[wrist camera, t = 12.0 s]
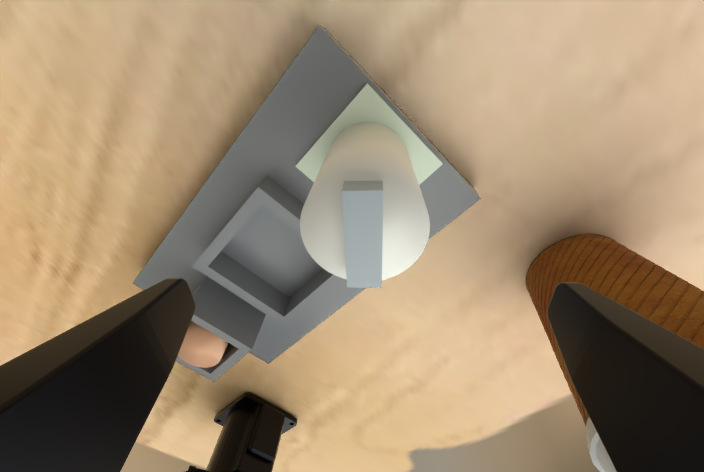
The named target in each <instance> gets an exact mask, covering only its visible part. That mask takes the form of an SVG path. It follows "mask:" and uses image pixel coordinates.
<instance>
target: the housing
mask: <svg viewBox="0 0 704 472" xmlns="http://www.w3.org/2000/svg"><path fill="white" fill-rule="evenodd" d="M363 122H374V123H379V124H382V125H385V126H387V127H389V128H390V129H392V130H393V131H395V132H396V133H397V134H398V135H399V136H400V138H401V139H402V140H403V142H404V144H405V146H406V148H407V151H408V154H409V157H410V160H411V163H412V166H413V169H414V172H415V175H416V178H417V181H418V184H419V187H420V190H421V192H422V195H423V198H424V201H425V204H426V207H427V211H428V214H429V220H430V233H429V238H431V237H432V236H433V235H435V234H436V233H437V232H438V231H440V230H441V229H442V228H444V227H445V226H446V225H447V224H449V223H450V222H451V221H453V220H454V219H455V218H456V217H458V216H459V215H460V214H462V213H463V212H464V211H465V210H467V209H468V208H469V207H471V206H472V205H473V204H474V203H476V202H477V201H478V200H480V199H481V198H480V196H479V195H478V193H477V192H476V191H475V189H474V188H473V187H472V186H471V185H470V184H469V183H468V182H467V180H466V179H465V178H464V177H463V176H462V175H461V174H460V173H459V172H458V171H457V170H456V169H455V168H454V167H453V165H452V164H451V163H450V162H449V161H448V160H447V159H446V158H445V157H444V156H443V155H442V154H441V153H440V151H439V150H438V149H437V148H436V147H435V146H434V145H433V144H432V143H431V142H430V141H429V140H428V139H427V138H426V136H425V135H424V134H423V133H422V132H421V131H420V130H419V129H418V128H417V127H416V126H415V125H414V124H413V123H412V121H411V120H410V119H409V118H408V117H407V116H406V115H405V114H404V113H403V112H402V111H401V110H400V109H399V107H398V106H397V105H396V104H395V103H394V102H393V101H392V100H391V99H390V98H389V97H388V96H387V95H386V94H385V92H384V91H383V90H382V89H381V88H380V87H379V86H378V85H377V84H376V83H375V82H374V81H373V80H372V78H371V77H370V76H369V75H368V74H367V73H366V72H365V71H364V70H363V69H362V68H361V67H360V66H359V65H358V63H357V62H356V61H355V60H354V59H353V58H352V57H351V56H350V55H349V54H348V53H347V52H346V51H345V49H344V48H343V47H342V46H341V45H340V44H339V43H338V42H337V41H336V40H335V39H334V38H333V37H332V36H331V34H330V33H329V32H328V31H327V30H326V29H325V28H324V27H322V26H320V25H319V26H318V28H317V29H316V30H315V32H314V33H313V35H312V36H311V37H310V39H309V40H308V41H307V43H306V44H305V46H304V47H303V48H302V50H301V51H300V52H299V54H298V55H297V57H296V58H295V59H294V61H293V62H292V64H291V65H290V66H289V68H288V69H287V70H286V72H285V73H284V75H283V76H282V77H281V79H280V80H279V81H278V83H277V84H276V86H275V87H274V88H273V90H272V91H271V93H270V94H269V95H268V97H267V98H266V99H265V101H264V102H263V104H262V105H261V106H260V108H259V109H258V111H257V112H256V113H255V115H254V116H253V117H252V119H251V120H250V122H249V123H248V124H247V126H246V127H245V128H244V130H243V131H242V133H241V134H240V135H239V137H238V138H237V140H236V141H235V142H234V144H233V145H232V146H231V148H230V149H229V151H228V152H227V153H226V155H225V156H224V157H223V159H222V160H221V162H220V163H219V164H218V166H217V167H216V169H215V170H214V171H213V173H212V174H211V175H210V177H209V178H208V180H207V181H206V182H205V184H204V185H203V186H202V188H201V189H200V191H199V192H198V193H197V195H196V196H195V198H194V199H193V200H192V202H191V203H190V204H189V206H188V207H187V209H186V210H185V211H184V213H183V214H182V215H181V217H180V218H179V220H178V221H177V222H176V224H175V225H174V227H173V228H172V229H171V231H170V232H169V233H168V235H167V236H166V238H165V239H164V240H163V242H162V243H161V244H160V246H159V247H158V249H157V250H156V251H155V253H154V254H153V256H152V257H151V258H150V260H149V261H148V262H147V264H146V265H145V267H144V268H143V269H142V271H141V272H140V274H139V275H138V276H137V278H136V279H135V280H134V282H133V284H135V285H137V286H138V287H140V288H142V289H143V290H146V289H147V288H149V287H151V286H153V285H155V284H157V283H159V282H161V281H163V280H165V279H167V278H182V279H185V280H186V281H187V283H188V286H189V288H190V291H191V294H192V296H193V299H194V301H195V312H194V315H193V317H192V320H191V321H193V322H194V323H196V324H198V325H199V326H201V327H203V328H204V329H206V330H208V331H209V332H211V333H213V334H215V335H216V336H218V337H220V338H221V339H223V340H225V341H226V342H228V343H229V344H228V346H227V348H226V350H225V352H224V354H223V356H222V358H221V360H220V362H219V363H218V364H217V365H215V366H212V367H207V368H202V367H196V366H193V365H190V364H188V363H186V362H184V361H183V360H181V359H180V358H179V357H178V356H177V359H176V362H178V363H180V364H182V365H184V366H186V367H187V368H189V369H191V370H193V371H195V372H197V373H199V374H200V375H202V376H204V377H206V378H208V379H210V380H212V381H215V380H216V379H217V378H219V377H220V376H221V375H222V374H223V373H225V372H226V371H227V370H228V369H229V368H231V367H232V366H233V365H234V364H235V363H236V362H238V361H239V360H240V359H241V358H242V357H244V356H245V355H246V354H247V353H248V352H250V353H251V354H253V355H255V356H256V357H258V358H260V359H261V360H263V361H265V362H266V363H268V364H269V363H270V362H271V361H273V360H274V359H275V358H276V357H278V356H279V355H280V354H282V353H283V352H284V351H285V350H287V349H288V348H289V347H291V346H292V345H293V344H294V343H296V342H297V341H298V340H300V339H301V338H302V337H303V336H305V335H306V334H307V333H309V332H310V331H311V330H312V329H314V328H315V327H316V326H318V325H319V324H320V323H321V322H323V321H324V320H325V319H327V318H328V317H329V316H330V315H332V314H333V313H334V312H336V311H337V310H338V309H339V308H341V307H342V306H343V305H345V304H346V303H347V302H348V301H350V300H351V299H352V298H354V297H355V296H356V295H357V294H359V293H360V292H361V291H363V290H364V289H365V288H351V287H347V280H346V279H343V278H340V277H338V276H335V275H333V274H331V273H329V272H328V271H326V270H325V269H323V268H322V267H321V266H320V265H319V264H317V263H316V262H315V260H314V259H313V258H312V257H311V256H310V254H309V253H308V251H307V249H306V248H305V246H304V243H303V240H302V237H301V232H300V217H301V212H302V209H303V206H304V204H305V201H306V199H307V197H308V195H309V193H310V190H311V188H312V186H313V184H314V181H315V179H316V177H317V175H318V173H319V170H320V168H321V166H322V164H323V162H324V159H325V157H326V155H327V153H328V150H329V148H330V146H331V144H332V142H333V141H334V139H335V138H336V137H337V136H338V135H339V134H340V133H341V132H342V131H343V130H345V129H346V128H348V127H350V126H352V125H354V124H358V123H363ZM429 238H428V239H429Z"/></svg>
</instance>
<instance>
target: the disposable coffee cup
mask: <svg viewBox="0 0 704 472" xmlns="http://www.w3.org/2000/svg"><path fill="white" fill-rule="evenodd" d="M561 282H578V283H581V284H583V285H585V286H587V287H589V288H591V289H593V290H594V291H596V292H598V293H600V294H602V295H604V296H606V297H608V298H609V299H611V300H613V301H615V302H617V303H619V304H621V305H623V306H624V307H626V308H628V309H630V310H632V311H634V312H636V313H638V314H639V315H641V316H643V317H645V318H647V319H649V320H651V321H653V322H654V323H656V324H658V325H660V326H662V327H664V328H666V329H668V330H669V331H671V332H673V333H675V334H677V335H679V336H681V337H682V338H684V339H686V340H688V341H690V342H692V343H694V344H696V345H697V346H699V347H701V348H703V349H704V291H701V290H700V289H699V288H697V287H695V286H693V285H692V284H690V283H688V282H687V281H685V280H683V279H681V278H679V277H677V276H676V275H674V274H672V273H671V272H669V271H666V270H665V269H664V268H662V267H660V266H658V265H655V263H653V262H651V261H649V260H647V259H646V258H644V257H642V256H640V255H639V254H637V253H635V252H633V251H632V250H630V249H628V248H626V247H625V246H623V245H620V244H619V243H618V242H616V241H614V240H613V239H611V238H608V237H605V236H601V235H594V234H590V235H579V236H574V237H570V238H567V239H564V240H562V241H560V242H558V243H556V244H553V245H552V246H550V247H549V248H547V249H546V250H544V251H543V252H542V253H541V254H540V255H539V256H538V257H537V258H536V259H535V261H534V262H533V263H532V265H531V266H530V268H529V270H528V274H527V277H526V286H527V289H528V292H529V294H530V296H531V299H532V301H533V304H534V306H535V308H536V310H537V313H538V315H539V318H540V320H541V322H542V324H543V327H544V329H545V332H546V334H547V336H548V338H549V340H550V343H551V346H552V348H553V351H554V352H555V355H556V358H557V360H558V362H559V364H560V367H561V369H562V371H563V374H564V376H565V379H566V381H567V383H568V386H569V388H570V391H571V392H572V394H573V397H574V399H575V401H576V403H577V406H578V409H579V411H580V413H581V415H582V417H583V420H584V423H585V425H586V436H587V439H588V447H587V448H588V451H589V454H590V456H591V459H592V462H593V464H594V465H595V466H596V467H597V469H598V470H599V471H600V472H617V471H616V469H615V467H614V465H613V463H612V461H611V459H610V457H609V455H608V453H607V451H606V449H605V447H604V445H603V443H602V441H601V439H600V437H599V435H598V433H597V431H596V429H595V427H594V425H593V423H592V421H591V419H590V417H589V415H588V413H587V411H586V409H585V407H584V405H583V403H582V401H581V399H580V397H579V395H578V393H577V391H576V389H575V386H574V384H573V382H572V380H571V378H570V375H569V373H568V370H567V368H566V365H565V362H564V360H563V357H562V354H561V352H560V349H559V346H558V344H557V341H556V338H555V335H554V333H553V330H552V327H551V325H550V322H549V319H548V315H547V310H548V306H549V303H550V301H551V298H552V296H553V293H554V290H555V288H556V286H557V285H558V284H559V283H561Z"/></svg>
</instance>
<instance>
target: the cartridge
mask: <svg viewBox="0 0 704 472" xmlns="http://www.w3.org/2000/svg"><path fill="white" fill-rule="evenodd" d="M300 232H301V237H302V240H303V243H304V246H305V248H306V249H307V251H308V253H309V254H310V256H311V257H312V258H313V259H314V260H315V262H316V263H317V264H319V265H320V266H321V267H322V268H323V269H325V270H326V271H328V272H329V273H331V274H333V275H335V276H338V277H340V278H343V279H346V280H347V287H351V288H382V280H385V279H389V278H391V277H394V276H396V275H398V274H400V273H402V272H403V271H405V270H406V269H408V268H409V267H410V266H411V265H413V264H414V263H415V261H416V260H417V259H418V258H419V257H420V255H421V254H422V252H423V251H424V249H425V247H426V244H427V241H428V238H429V233H430V220H429V214H428V211H427V207H426V204H425V201H424V198H423V195H422V192H421V190H420V187H419V184H418V181H417V178H416V175H415V172H414V169H413V166H412V163H411V160H410V157H409V154H408V151H407V148H406V146H405V144H404V142H403V140H402V139H401V138H400V136H399V135H398V134H397V133H396V132H395V131H393V130H392V129H390V128H389V127H387V126H385V125H382V124H379V123H374V122H363V123H358V124H354V125H352V126H350V127H348V128H346V129H345V130H343V131H342V132H341V133H340V134H339V135H338V136H337V137H336V138H335V139H334V141H333V142H332V144H331V146H330V148H329V150H328V153H327V155H326V157H325V159H324V162H323V164H322V166H321V168H320V170H319V173H318V175H317V177H316V179H315V181H314V184H313V186H312V188H311V190H310V193H309V195H308V197H307V199H306V201H305V204H304V206H303V209H302V212H301V217H300Z"/></svg>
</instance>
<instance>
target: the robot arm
mask: <svg viewBox="0 0 704 472" xmlns="http://www.w3.org/2000/svg"><path fill="white" fill-rule="evenodd" d="M194 312H195V301H194V299H193V296H192V294H191V291H190V288H189V286H188V283H187V281H186V280H185V279H182V278H167V279H165V280H163V281H161V282H159V283H157V284H155V285H153V286H151V287H149V288H147V289H146V290H144V291H142V292H140V293H138V294H136V295H134V296H132V297H130V298H128V299H127V300H125V301H123V302H121V303H119V304H117V305H115V306H113V307H111V308H109V309H108V310H106V311H104V312H102V313H100V314H98V315H96V316H94V317H92V318H90V319H89V320H87V321H85V322H83V323H81V324H79V325H77V326H75V327H73V328H71V329H70V330H68V331H66V332H64V333H62V334H60V335H58V336H56V337H54V338H52V339H51V340H49V341H47V342H45V343H43V344H41V345H39V346H37V347H35V348H33V349H31V350H30V351H28V352H26V353H24V354H22V355H20V356H18V357H16V358H14V359H12V360H11V361H9V362H7V363H5V364H3V365H1V366H0V472H120V471H121V469H122V467H123V465H124V463H125V461H126V459H127V457H128V455H129V453H130V451H131V449H132V447H133V445H134V443H135V441H136V439H137V437H138V435H139V433H140V431H141V430H142V428H143V426H144V424H145V422H146V420H147V418H148V416H149V414H150V412H151V410H152V408H153V406H154V404H155V402H156V400H157V398H158V396H159V394H160V392H161V390H162V388H163V386H164V384H165V382H166V380H167V378H168V376H169V374H170V372H171V370H172V368H173V366H174V363H175V361H176V359H177V356H178V353H179V351H180V348H181V346H182V343H183V341H184V338H185V335H186V333H187V330H188V328H189V325H190V322H191V320H192V317H193V315H194ZM547 315H548V319H549V322H550V325H551V327H552V330H553V333H554V335H555V338H556V341H557V344H558V346H559V349H560V352H561V354H562V357H563V360H564V362H565V365H566V368H567V370H568V373H569V375H570V378H571V380H572V382H573V384H574V386H575V389H576V391H577V393H578V395H579V397H580V399H581V401H582V403H583V405H584V407H585V409H586V411H587V413H588V415H589V417H590V419H591V421H592V423H593V425H594V427H595V429H596V431H597V433H598V435H599V437H600V439H601V441H602V443H603V445H604V447H605V449H606V451H607V453H608V455H609V457H610V459H611V461H612V463H613V465H614V467H615V469H616V471H617V472H704V349H703V348H701V347H699V346H697V345H696V344H694V343H692V342H690V341H688V340H686V339H684V338H682V337H681V336H679V335H677V334H675V333H673V332H671V331H669V330H668V329H666V328H664V327H662V326H660V325H658V324H656V323H654V322H653V321H651V320H649V319H647V318H645V317H643V316H641V315H639V314H638V313H636V312H634V311H632V310H630V309H628V308H626V307H624V306H623V305H621V304H619V303H617V302H615V301H613V300H611V299H609V298H608V297H606V296H604V295H602V294H600V293H598V292H596V291H594V290H593V289H591V288H589V287H587V286H585V285H583V284H581V283H578V282H561V283H559V284H558V285H557V286H556V288H555V290H554V293H553V296H552V298H551V301H550V303H549V306H548V310H547ZM214 421H215V422H216V423H218V424H220V425H222V426H223V429H222V431H221V434H220V436H219V439H218V441H217V444H216V446H215V449H214V451H213V454H212V456H211V459H210V461H209V464H208V466H207V469H206V470H202V469H198V468H196V467H195V466H190V467H189V470H188V471H186V472H272V469H273V465H274V461H275V458H276V454H277V450H278V446H279V442H280V437H281V434H283V433H285V432H286V431H288V430H290V429H291V428H293V427H295V426H296V425H297V419H296V418H294V417H293V416H291V415H289V414H287V413H285V412H283V411H282V410H280V409H278V408H276V407H274V406H272V405H271V404H269V403H267V402H265V401H263V400H261V399H260V398H258V397H256V396H254V395H252V394H250V393H245V394H244V395H242V396H241V397H240V398H238V399H237V400H236V401H234V402H233V403H232V404H230V405H229V406H228V407H226V408H225V409H224V410H222V411H221V412H220V413H218V414H217V415H216V416H215V418H214Z"/></svg>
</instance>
